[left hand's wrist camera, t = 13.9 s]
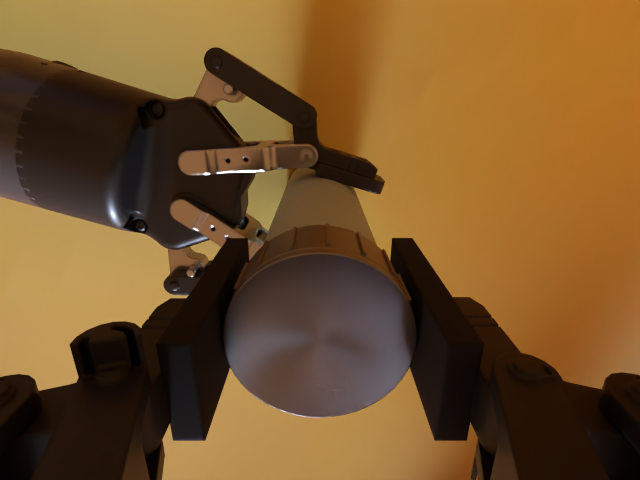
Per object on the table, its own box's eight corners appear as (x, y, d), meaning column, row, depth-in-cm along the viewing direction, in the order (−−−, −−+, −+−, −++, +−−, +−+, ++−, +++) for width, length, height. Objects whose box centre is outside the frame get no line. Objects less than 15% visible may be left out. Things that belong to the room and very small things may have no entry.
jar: (353, 158, 26) (409, 250, 10) (351, 223, 28) (397, 392, 12) (285, 159, 26) (230, 251, 10) (288, 223, 28) (243, 393, 12)
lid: (211, 248, 12) (187, 281, 9) (381, 200, 11) (396, 224, 9) (268, 382, 13) (258, 435, 11) (417, 346, 13) (436, 395, 11)
